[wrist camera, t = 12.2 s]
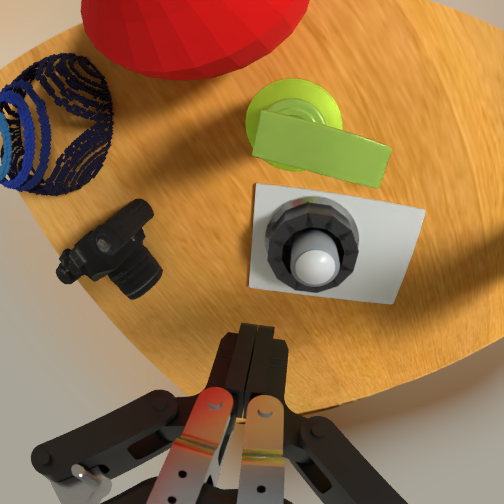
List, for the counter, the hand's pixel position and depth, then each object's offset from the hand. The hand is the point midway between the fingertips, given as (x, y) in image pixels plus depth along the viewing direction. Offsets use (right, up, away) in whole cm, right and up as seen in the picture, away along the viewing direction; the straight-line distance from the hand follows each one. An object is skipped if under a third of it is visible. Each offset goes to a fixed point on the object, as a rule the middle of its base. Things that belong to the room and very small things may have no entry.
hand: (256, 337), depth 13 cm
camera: (-17, +5, +26) cm, 32 cm away
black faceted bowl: (+7, +5, +21) cm, 23 cm away
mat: (+10, +4, +21) cm, 24 cm away
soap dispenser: (+5, +18, +15) cm, 24 cm away
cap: (+7, +5, +20) cm, 22 cm away
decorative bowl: (-27, +22, +18) cm, 39 cm away
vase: (-3, +29, +9) cm, 31 cm away
